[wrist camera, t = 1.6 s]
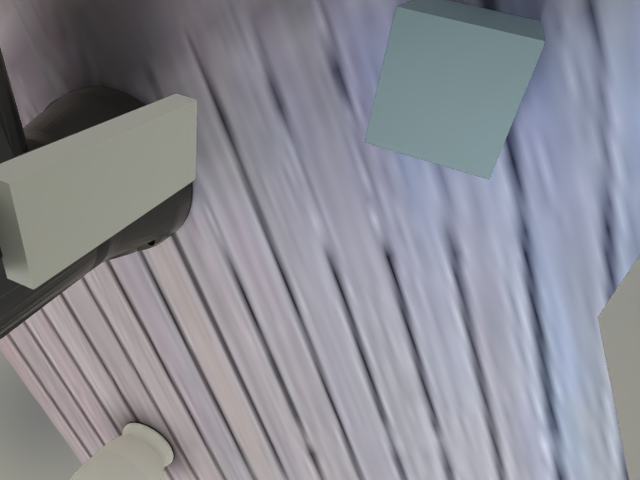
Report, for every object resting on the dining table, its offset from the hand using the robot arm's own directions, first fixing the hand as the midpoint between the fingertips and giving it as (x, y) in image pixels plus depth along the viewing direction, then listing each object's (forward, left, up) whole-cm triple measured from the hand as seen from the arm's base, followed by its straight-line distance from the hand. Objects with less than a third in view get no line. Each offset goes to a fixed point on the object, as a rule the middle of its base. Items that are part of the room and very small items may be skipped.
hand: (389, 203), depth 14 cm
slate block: (0, 0, -21) cm, 21 cm away
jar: (-26, -60, -21) cm, 69 cm away
